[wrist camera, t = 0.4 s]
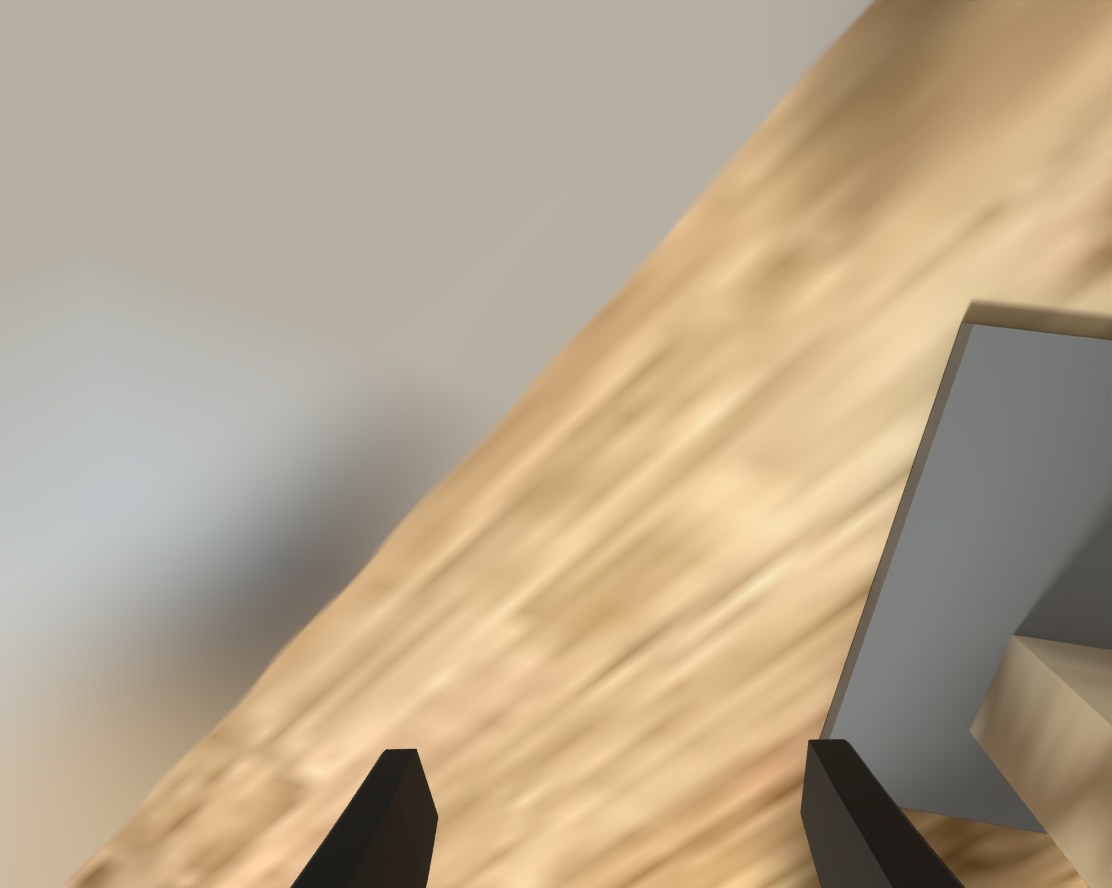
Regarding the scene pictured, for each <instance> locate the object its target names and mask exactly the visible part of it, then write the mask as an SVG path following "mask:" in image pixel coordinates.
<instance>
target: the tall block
mask: <svg viewBox="0 0 1112 888" xmlns="http://www.w3.org/2000/svg"><path fill="white" fill-rule="evenodd" d="M969 731H970V733H971V734H972V735H973V737H974V738H975V739H976V740H977V742H978V743H979V744H980V746H981V747H982V748H983V750H984V751H985V752H986V753H987V755H988V756H989V757H990V759H991V760H992V761H993V763H994V764H995V765H996V767H997V768H998V769H999V770H1000V772H1001V773H1002V774H1003V776H1004V777H1005V778H1006V780H1007V781H1008V782H1009V784H1010V785H1011V786H1012V787H1013V789H1014V790H1015V791H1016V793H1017V794H1018V795H1019V797H1020V798H1021V799H1022V801H1023V802H1024V803H1025V804H1026V806H1027V807H1028V808H1029V810H1030V811H1031V812H1032V814H1033V815H1034V816H1035V817H1036V819H1037V820H1038V821H1039V823H1040V824H1041V825H1042V827H1043V828H1044V829H1045V831H1046V832H1047V833H1048V834H1049V836H1050V837H1051V838H1052V840H1053V841H1054V842H1055V844H1056V845H1057V846H1058V848H1059V849H1060V850H1061V851H1062V853H1063V854H1064V855H1065V857H1066V858H1067V859H1068V861H1069V862H1070V863H1071V864H1072V866H1073V867H1074V868H1075V870H1076V871H1077V872H1078V874H1079V875H1080V876H1081V878H1082V879H1083V880H1084V881H1085V883H1086V884H1087V885H1088V887H1089V888H1112V650H1108V649H1101V648H1095V647H1089V646H1082V645H1076V644H1069V643H1063V642H1056V641H1050V640H1043V639H1037V638H1031V637H1024V636H1018V635H1012V637H1011V639H1010V642H1009V644H1008V646H1007V648H1006V650H1005V653H1004V655H1003V657H1002V659H1001V661H1000V664H999V666H998V668H997V670H996V673H995V675H994V677H993V679H992V681H991V684H990V686H989V688H988V690H987V693H986V695H985V697H984V699H983V701H982V704H981V706H980V708H979V710H978V712H977V715H976V717H975V719H974V721H973V724H972V726H971V728H970V730H969Z"/></svg>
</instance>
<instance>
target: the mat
mask: <svg viewBox="0 0 1112 888" xmlns="http://www.w3.org/2000/svg"><path fill="white" fill-rule="evenodd" d="M1012 635H1018V636H1024V637H1031V638H1037V639H1043V640H1050V641H1056V642H1063V643H1069V644H1076V645H1082V646H1089V647H1095V648H1101V649H1108V650H1112V340H1106V339H1098V338H1089V337H1081V336H1072V335H1064V334H1055V333H1047V332H1038V331H1030V330H1021V329H1013V328H1004V327H995V326H987V325H978V324H970V323H962V324H961V327H960V330H959V333H958V336H957V338H956V341H955V344H954V347H953V350H952V353H951V356H950V359H949V362H948V365H947V368H946V371H945V374H944V377H943V380H942V382H941V385H940V388H939V391H938V394H937V397H936V400H935V403H934V406H933V409H932V412H931V415H930V418H929V421H928V424H927V426H926V429H925V432H924V435H923V438H922V441H921V444H920V447H919V450H918V453H917V456H916V459H915V462H914V465H913V468H912V470H911V473H910V476H909V479H908V482H907V485H906V488H905V491H904V494H903V497H902V500H901V503H900V506H899V509H898V512H897V514H896V517H895V520H894V523H893V526H892V529H891V532H890V535H889V538H888V541H887V544H886V547H885V550H884V553H883V556H882V558H881V561H880V564H879V567H878V570H877V573H876V576H875V579H874V582H873V585H872V588H871V591H870V594H869V597H868V600H867V602H866V605H865V608H864V611H863V614H862V617H861V620H860V623H859V626H858V629H857V632H856V635H855V638H854V641H853V643H852V646H851V649H850V652H849V655H848V658H847V661H846V664H845V667H844V670H843V673H842V676H841V679H840V682H839V685H838V687H837V690H836V693H835V696H834V699H833V702H832V705H831V708H830V711H829V714H828V717H827V720H826V723H825V726H824V729H823V731H822V734H821V737H820V740H821V739H845V740H847V741H848V742H849V743H850V744H851V745H852V746H853V748H854V749H855V751H856V752H857V753H858V755H859V756H860V757H861V759H862V760H863V761H864V763H865V764H866V765H867V767H868V768H869V769H870V771H871V772H872V773H873V775H874V776H875V777H876V779H877V780H878V781H879V783H880V784H881V785H882V786H883V788H884V789H885V790H886V792H887V793H888V794H889V795H890V797H891V798H892V799H893V801H894V802H895V803H896V804H897V806H898V807H901V808H906V809H912V810H917V811H923V812H928V813H934V814H940V815H945V816H951V817H956V818H962V819H968V820H973V821H979V822H984V823H990V824H995V825H1001V826H1007V827H1012V828H1018V829H1023V830H1029V831H1034V832H1040V833H1046V834H1048V833H1047V832H1046V831H1045V829H1044V828H1043V827H1042V825H1041V824H1040V823H1039V821H1038V820H1037V819H1036V817H1035V816H1034V815H1033V814H1032V812H1031V811H1030V810H1029V808H1028V807H1027V806H1026V804H1025V803H1024V802H1023V801H1022V799H1021V798H1020V797H1019V795H1018V794H1017V793H1016V791H1015V790H1014V789H1013V787H1012V786H1011V785H1010V784H1009V782H1008V781H1007V780H1006V778H1005V777H1004V776H1003V774H1002V773H1001V772H1000V770H999V769H998V768H997V767H996V765H995V764H994V763H993V761H992V760H991V759H990V757H989V756H988V755H987V753H986V752H985V751H984V750H983V748H982V747H981V746H980V744H979V743H978V742H977V740H976V739H975V738H974V737H973V735H972V734H971V733H970V731H969V730H970V728H971V726H972V724H973V721H974V719H975V717H976V715H977V712H978V710H979V708H980V706H981V704H982V701H983V699H984V697H985V695H986V693H987V690H988V688H989V686H990V684H991V681H992V679H993V677H994V675H995V673H996V670H997V668H998V666H999V664H1000V661H1001V659H1002V657H1003V655H1004V653H1005V650H1006V648H1007V646H1008V644H1009V642H1010V639H1011V637H1012Z"/></svg>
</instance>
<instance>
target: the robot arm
mask: <svg viewBox="0 0 1112 888" xmlns="http://www.w3.org/2000/svg"><path fill="white" fill-rule="evenodd" d="M801 817H802V820H803V824H804V828H805V831H806V835H807V839H808V843H809V846H810V850H811V853H812V857H813V860H814V864H815V867H816V871H817V874H818V878H819V881H820V885H821V887H822V888H965V887H964V886H963V885H962V884H961V882H960V881H959V880H958V879H957V878H956V876H955V875H954V874H953V873H952V872H951V870H950V869H949V868H948V867H947V866H946V865H945V863H944V862H943V861H942V860H941V859H940V857H939V856H938V855H937V854H936V853H935V852H934V850H933V849H932V848H931V847H930V845H929V844H928V843H927V842H926V841H925V839H924V838H923V837H922V836H921V834H920V833H919V832H918V831H917V830H916V828H915V827H914V826H913V825H912V823H911V822H910V821H909V820H908V818H907V817H906V816H905V815H904V813H903V812H902V811H901V809H900V808H899V807H898V806H897V804H896V803H895V802H894V801H893V799H892V798H891V797H890V795H889V794H888V793H887V792H886V790H885V789H884V788H883V786H882V785H881V784H880V783H879V781H878V780H877V779H876V777H875V776H874V775H873V773H872V772H871V771H870V769H869V768H868V767H867V765H866V764H865V763H864V761H863V760H862V759H861V757H860V756H859V755H858V753H857V752H856V751H855V749H854V748H853V746H852V745H851V744H850V743H849V742H848V741H847V740H845V739H821V740H809V741H808V750H807V759H806V768H805V777H804V786H803V795H802V804H801ZM437 821H438V814H437V811H436V808H435V805H434V802H433V799H432V795H431V792H430V789H429V786H428V783H427V780H426V777H425V774H424V771H423V767H422V764H421V761H420V758H419V755H418V752H417V749H386V750H385V751H384V752H383V753H382V754H381V756H380V757H379V759H378V760H377V762H376V763H375V765H374V766H373V768H372V769H371V771H370V772H369V774H368V776H367V777H366V779H365V780H364V782H363V783H362V785H361V786H360V788H359V789H358V791H357V792H356V794H355V795H354V797H353V798H352V800H351V801H350V803H349V804H348V806H347V807H346V809H345V810H344V812H343V813H342V815H341V816H340V818H339V819H338V820H337V822H336V823H335V825H334V826H333V828H332V829H331V831H330V832H329V834H328V835H327V837H326V838H325V839H324V841H323V842H322V844H321V845H320V846H319V848H318V849H317V851H316V852H315V853H314V855H313V856H312V858H311V859H310V861H309V862H308V863H307V865H306V866H305V868H304V869H303V870H302V872H301V873H300V875H299V876H298V878H297V879H296V880H295V882H294V883H293V884H292V886H291V887H290V888H426V885H427V881H428V875H429V870H430V864H431V858H432V853H433V847H434V840H435V834H436V828H437Z"/></svg>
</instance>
